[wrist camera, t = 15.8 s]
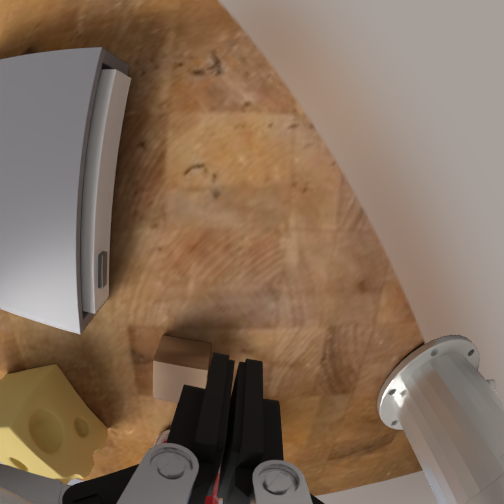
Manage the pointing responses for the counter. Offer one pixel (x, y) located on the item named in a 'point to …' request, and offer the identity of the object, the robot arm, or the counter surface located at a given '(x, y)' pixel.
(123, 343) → the counter surface
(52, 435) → the cheese
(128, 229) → the counter surface
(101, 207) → the tray
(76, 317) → the housing
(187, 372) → the walnut block
